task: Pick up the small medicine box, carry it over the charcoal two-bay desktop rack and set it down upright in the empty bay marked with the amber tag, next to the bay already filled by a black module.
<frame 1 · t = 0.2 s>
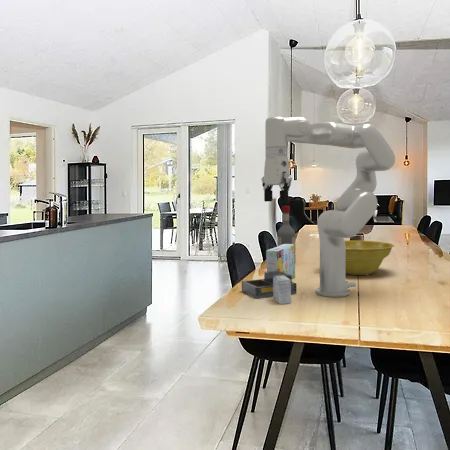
hand: (275, 201, 166), 36 cm above the table, tool pointing down, fingers open, 9 cm apart
rack: (268, 292, 182), on the table
liquor: (286, 264, 245), on the table
medicine box: (281, 302, 168), on the table
planter bowl: (357, 273, 218), on the table
snack box: (281, 282, 201), on the table
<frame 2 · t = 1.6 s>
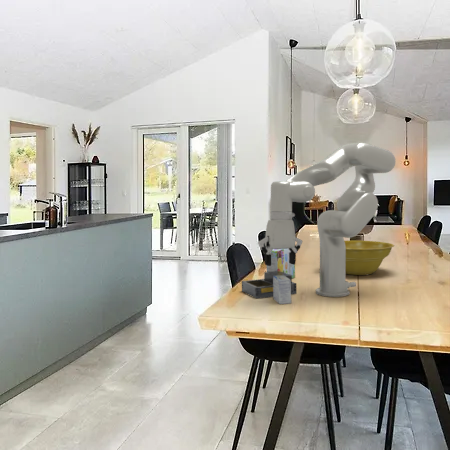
hand: (280, 264, 167), 13 cm above the table, tool pointing down, fingers open, 9 cm apart
nothing on the table moved.
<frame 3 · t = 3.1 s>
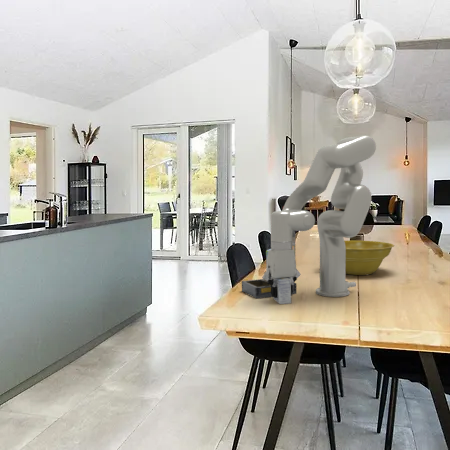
hand: (281, 295, 168), 2 cm above the table, tool pointing down, fingers closed on medicine box, 5 cm apart
medicine box: (281, 301, 168), on the table, touching gripper
everything else where it was.
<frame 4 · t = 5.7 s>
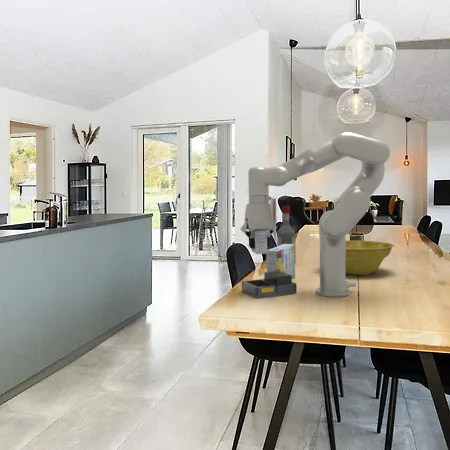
hand: (259, 247, 179), 18 cm above the table, tool pointing down, fingers closed on medicine box, 5 cm apart
medicine box: (259, 253, 179), point 16 cm above the table, touching gripper
everything else where it was.
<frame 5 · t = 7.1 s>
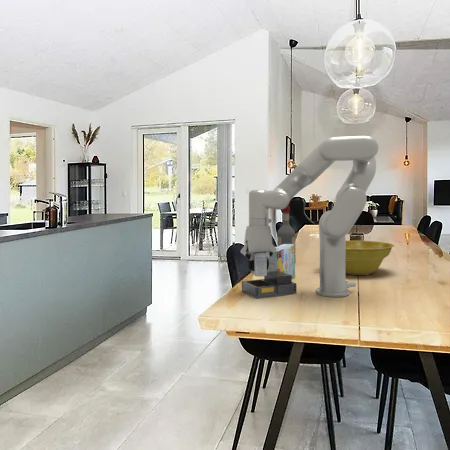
hand: (258, 269, 179), 9 cm above the table, tool pointing down, fingers closed on medicine box, 5 cm apart
medicine box: (258, 275, 179), point 7 cm above the table, touching gripper
everything else where it was.
when the fingers open (5 cm above the table, at t = 8.4 s): medicine box drops 2 cm, resting on rack.
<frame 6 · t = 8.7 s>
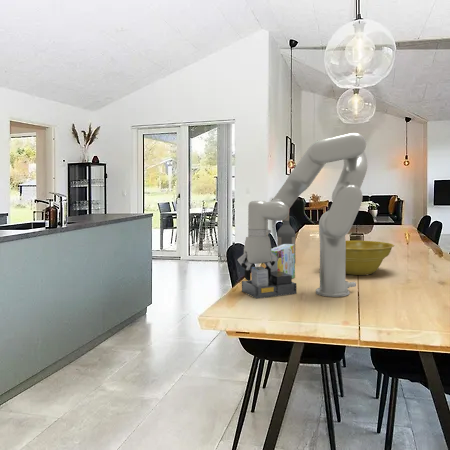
hand: (257, 278, 180), 6 cm above the table, tool pointing down, fingers open, 7 cm apart
medicine box: (259, 291, 180), point 1 cm above the table, touching rack
everything else where it was.
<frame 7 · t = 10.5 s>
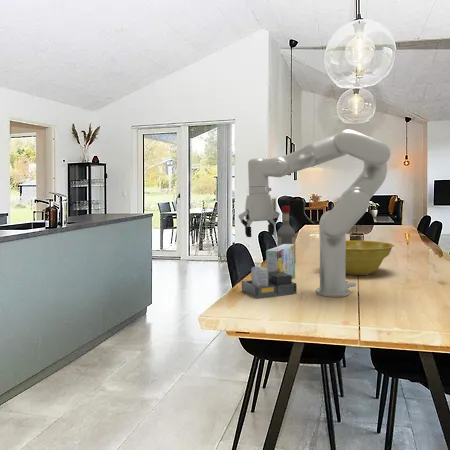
hand: (260, 235, 180), 22 cm above the table, tool pointing down, fingers open, 9 cm apart
nothing on the table moved.
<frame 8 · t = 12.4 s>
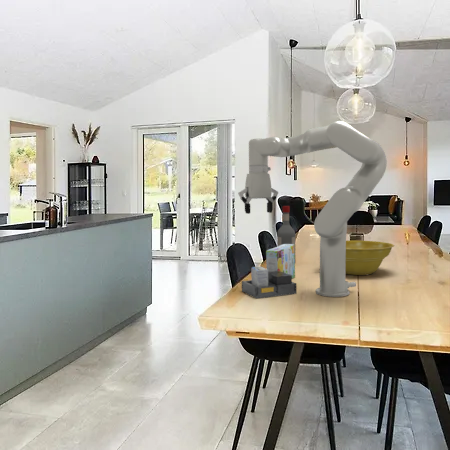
hand: (258, 212, 189), 30 cm above the table, tool pointing down, fingers open, 9 cm apart
nothing on the table moved.
at the end: medicine box inside the target area on the rack (0.1 cm from its centre), point 1.0 cm above the rack's base; medicine box tilted 0°; the gripper is holding nothing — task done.
